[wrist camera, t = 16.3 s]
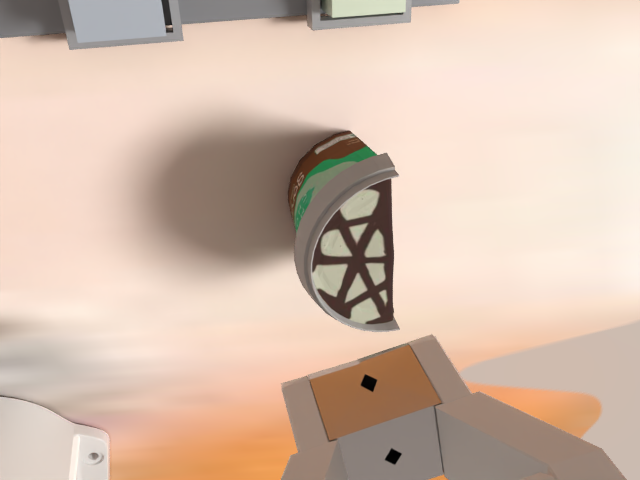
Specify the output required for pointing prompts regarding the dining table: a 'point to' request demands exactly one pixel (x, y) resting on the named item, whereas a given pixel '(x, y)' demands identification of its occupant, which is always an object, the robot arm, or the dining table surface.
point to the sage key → (362, 7)
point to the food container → (345, 231)
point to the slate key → (117, 19)
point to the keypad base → (185, 17)
